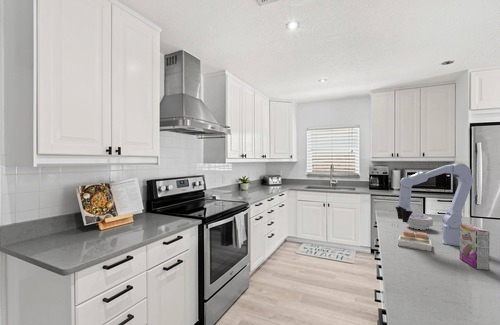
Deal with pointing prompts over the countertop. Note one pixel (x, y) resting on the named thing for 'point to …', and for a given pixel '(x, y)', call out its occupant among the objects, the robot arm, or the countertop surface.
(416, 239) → the oak board
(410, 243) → the bin
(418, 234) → the terracotta tile
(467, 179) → the robot arm
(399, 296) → the countertop surface
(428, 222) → the white purple patterned bowl
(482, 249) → the candy bar box
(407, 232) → the terracotta tile
